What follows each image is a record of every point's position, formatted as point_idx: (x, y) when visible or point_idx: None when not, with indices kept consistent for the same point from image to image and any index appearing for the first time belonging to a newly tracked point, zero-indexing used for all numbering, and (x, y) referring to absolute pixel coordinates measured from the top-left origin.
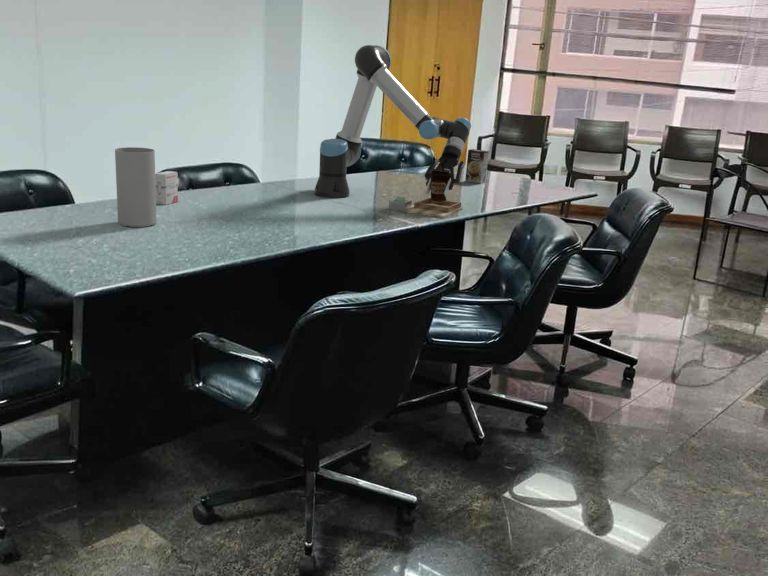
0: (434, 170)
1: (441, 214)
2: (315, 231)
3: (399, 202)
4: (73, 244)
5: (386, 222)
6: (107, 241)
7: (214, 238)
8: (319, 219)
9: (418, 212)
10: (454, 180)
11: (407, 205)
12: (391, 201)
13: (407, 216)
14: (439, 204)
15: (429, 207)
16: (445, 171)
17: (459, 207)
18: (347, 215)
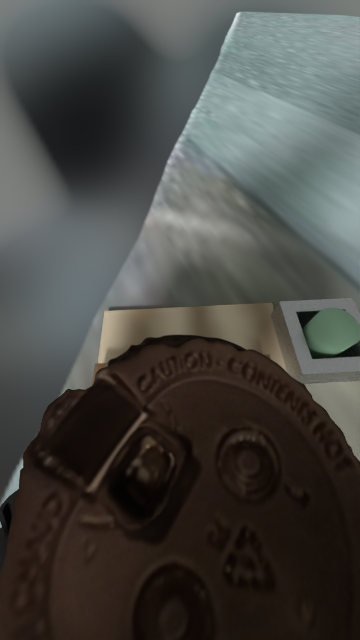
0: (255, 352)
1: (118, 322)
2: (257, 107)
3: (303, 301)
4: (355, 28)
5: (213, 190)
6: (351, 35)
7: (306, 60)
8: (324, 146)
9: (205, 307)
10: (4, 539)
11: (281, 335)
12: (340, 300)
13: (213, 265)
14: None
15: None
16: (88, 467)
17: None
18: (324, 191)
